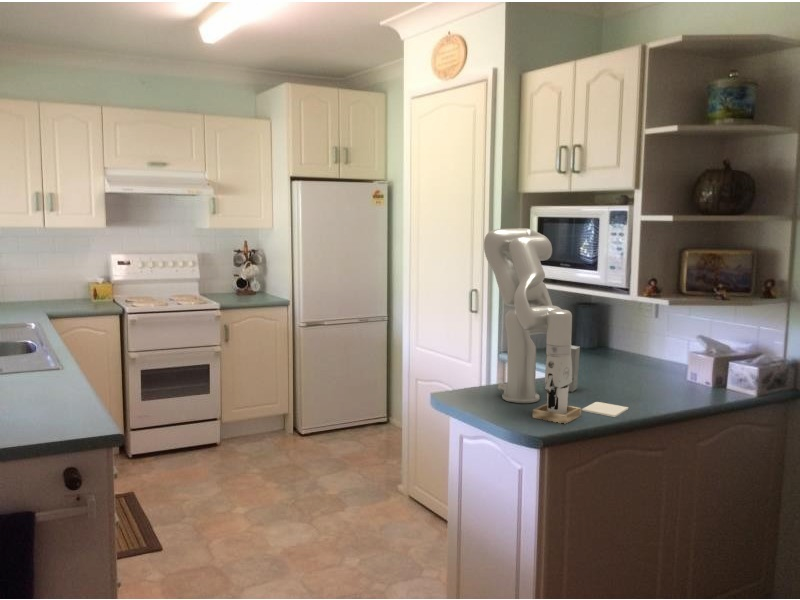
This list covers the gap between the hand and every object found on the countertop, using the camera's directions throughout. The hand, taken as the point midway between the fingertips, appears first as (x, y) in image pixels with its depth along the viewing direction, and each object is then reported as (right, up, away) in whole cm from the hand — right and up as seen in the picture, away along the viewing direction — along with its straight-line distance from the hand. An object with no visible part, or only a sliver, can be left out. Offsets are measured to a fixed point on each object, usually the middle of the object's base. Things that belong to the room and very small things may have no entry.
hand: (557, 406), depth 224 cm
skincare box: (+10, +1, +33) cm, 35 cm away
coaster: (+17, -2, +7) cm, 19 cm away
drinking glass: (0, -4, +1) cm, 4 cm away
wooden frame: (0, -3, 0) cm, 3 cm away
